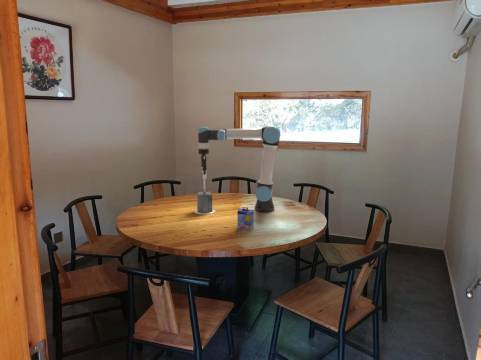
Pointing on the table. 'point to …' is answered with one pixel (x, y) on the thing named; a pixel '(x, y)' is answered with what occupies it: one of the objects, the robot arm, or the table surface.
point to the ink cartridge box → (245, 219)
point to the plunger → (203, 180)
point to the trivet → (204, 213)
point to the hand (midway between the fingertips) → (203, 177)
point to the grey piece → (204, 202)
